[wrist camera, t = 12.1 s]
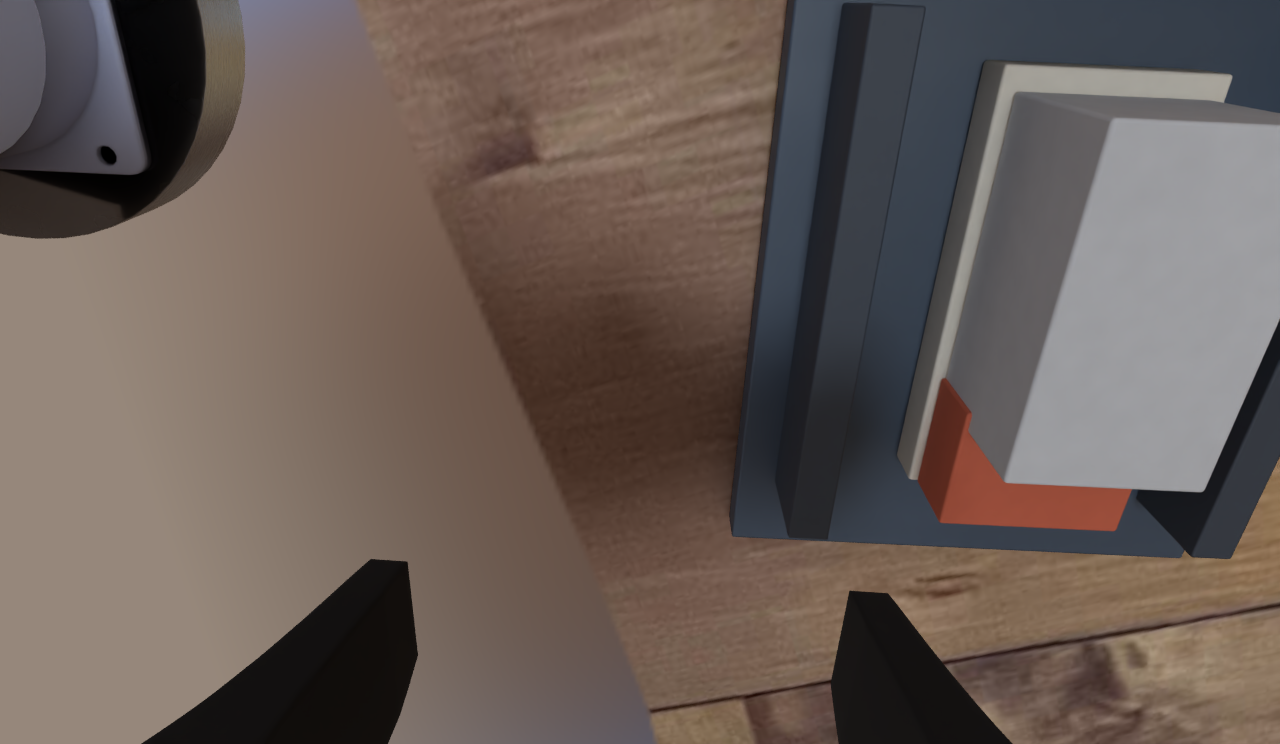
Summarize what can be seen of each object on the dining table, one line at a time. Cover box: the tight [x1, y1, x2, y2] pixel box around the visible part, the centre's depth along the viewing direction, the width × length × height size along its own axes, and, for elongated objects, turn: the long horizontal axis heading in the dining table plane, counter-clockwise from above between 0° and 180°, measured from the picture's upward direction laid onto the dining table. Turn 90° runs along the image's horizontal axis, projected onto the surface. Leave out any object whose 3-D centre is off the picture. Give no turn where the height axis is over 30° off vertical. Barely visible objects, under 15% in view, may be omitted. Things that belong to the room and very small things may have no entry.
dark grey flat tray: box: [729, 0, 1280, 559], centre depth 18 cm, size 16×13×4 cm
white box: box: [897, 60, 1280, 531], centre depth 16 cm, size 10×5×5 cm, turn 178°
